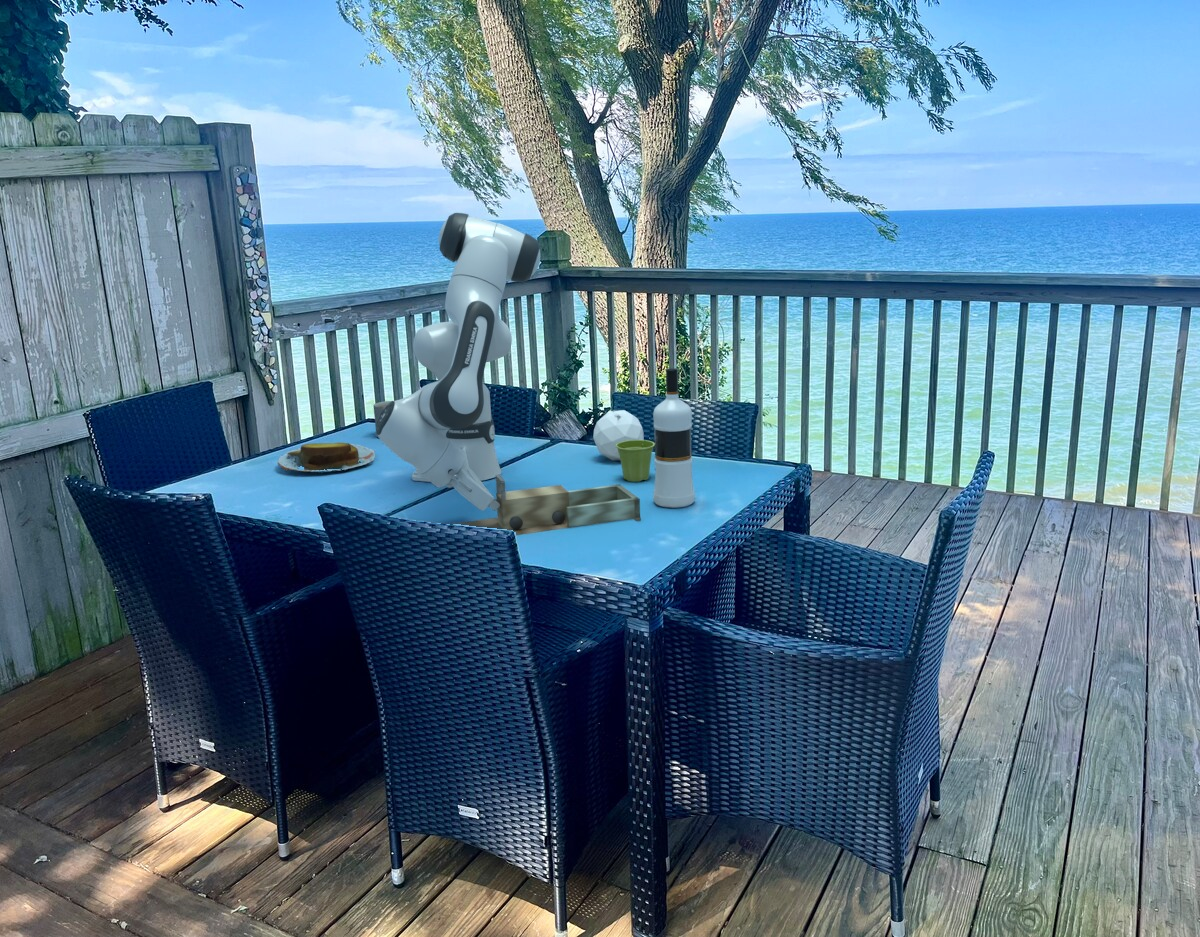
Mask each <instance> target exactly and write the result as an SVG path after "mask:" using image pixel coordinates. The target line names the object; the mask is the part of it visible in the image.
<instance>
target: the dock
mask: <svg viewBox="0 0 1200 937" xmlns="http://www.w3.org/2000/svg"><path fill="white" fill-rule="evenodd" d="M567 491H568V492H569V507H567V523H561V524H552V525H545V526H537V527H530V528H523V529H518V530H513V531H514V532H516V535H515V536H521V535H528V534H534V533H535V534H536V533H541V532H549V531H557V530H564V529H571V528H578V527H583V526H584V527H585V526H590V525H591V526H593V525H599V524H600V525H601V524H605V523H606V524H607V523H613V522H619V521H620V522H621V521H627V520H634V521H635V522H639V521H641V520H642V517H641V502H640V498H639V497H638V496H637V495H635V494H634V493H633V492H631V491H629V490H628V489H627V488H625V487H624V486H623V485H621V484H620V483H619V484H612V485H611V484H610V485H605V486H596V487H587V488H580V489H579V488H578V489H572V490H567ZM453 524H461V525H469V526H476V527H487V528H497V529H502V527H501V526H500V525H499V523H498V517H492V518H484V519H475V520H468V521H462V522H455V523H453Z"/></svg>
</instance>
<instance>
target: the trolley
mask: <svg viewBox="0 0 1200 937" xmlns="http://www.w3.org/2000/svg"><path fill="white" fill-rule="evenodd" d="M495 485H496V486H495V487H496V492H495V497H496V498H495V499H496V500H497V501H498V503H499V504H500V507H499V508H498V509H497V510H496V512H497V516H496V517H497V518H498V523H499V525H500V526H501V527H502V529H507V530H518V529H523V528H530V527H537V526H545V525H552V524H561V523H567V507H569V492H568V491H569V490H567V489H566V488H565V487H564V486H563V485H562V484H556V485H549V486H543V487H542V486H541V487H535V488H534V487H533V488H524V489H518V490H508V491H507V490H506V480H505V479H504V478H503V476H501V474H500V475H499V474H498V475H496V477H495Z"/></svg>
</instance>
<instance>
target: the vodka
mask: <svg viewBox="0 0 1200 937" xmlns="http://www.w3.org/2000/svg"><path fill="white" fill-rule="evenodd" d="M665 379H666V380H665V384H666V385H665V387H666V389H665V390H666V391H665V393H666V396H665V397H666V398H665V399H664V400H662V401H661V402H660V403H659V404H658V405H656V406H655V407H654V410H653V412H652V416H653V428H654V443H655V446H654V459H653V461H654V467H655V477H654V490H653V492H652V493H653V494H652V495H653V496H652V499H653V502H654V504H656V505H657V506H660V507H661V508H668V509H677V508H678V509H679V508H685V507H688V506H690V505H691V504H693V503H694V502H695V500H696V492H695V489H694V481H693V461H694V459H693V457H692V426H693V423H692V419H693V412H692V409H691V407H690V405H689V404H687V403H686V402H685V401H682V400H681V399H680V398H679V370H678V368H675V367H670V368H667V369H665Z"/></svg>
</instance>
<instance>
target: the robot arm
mask: <svg viewBox="0 0 1200 937" xmlns="http://www.w3.org/2000/svg"><path fill="white" fill-rule="evenodd" d="M438 244H439V248H438V249H439V251H440V253H441V255H442V256H443V257H444V258H446V259H447V260H449V261H450V262H452V263H455V262H456V263H455V266H454V268H453V271H452V274H451V277H450V280H449V283H448V287H447V290H446V295H445V299H444V300H445V302H444V303H445V304H444V309H445V312H446V314H447V316H448V318H449V319H450V320H449V321H443V322H435V323H433V324H428V325H426V326H424V327H421V328H419V329H417V331H416V332H415V335H414V337H413V343H412V345H413V346H412V348H413V353H414V356H415V358H416V359H417V361H418V362H419V364H420V365H422V366H423V367H424V368H425V369H428V370H429V371H430V372H431V373H432V374H433V375H434V376H435V377H436V380H437V381H433V382H430V383H427V384H426V385H423V386H422V387H421V388H419V389H418V390H417V391H415V392H413V393H412V394H410V395H408V396H405V397H403V398H399V399H397V400H391V401H392V402H390V403H389V404H388V405H387V406H386V407H385V409H384V410H383V411H382V413H381V414H380V416H379V418H378V421H377V425H376V426H375V434H376V433H377V435H378V437H379V438H380V439H379V438H378V439H379V440H380V441H381V442H382V444H384V445H385V446H386V447H387V448H388V449H389V450H390V451H391V452H393V453H394V454H395V455H396V456H397V457H399V458H400V459H401V460H402V461H403V462H406V463H408V464H411V466H413V467H414V468H415V469H416V470H415V471H413V472H412V474H411V480H412V481H417V482H427V483H431V484H433V485H434V486H435V487H436V488H443V487H444V486H445V487H446V488H448V489H449V488H454V489H455V490H456V492H458V493H459V494H460V496H462V497H463V498H464V499H466V500H467V501H468V502H469V503H471V504H472V505H473V506H474V507H476V509H478V510H480V511H486V509H488V507H489V508H490V509H491V510H492V511H497V509H498V508H499V507H500V504H499V503H498V501H497V500H496V498H495V497H494V496H493V495H492V494H491V492H490V491H489V489H488V488H487V487H486V486H485V485H484V483H483V482H482V481H486V480H489V479H493V478H496V475H498V474H499V475H500V476H501V474H502V470H501V467H500V465H499V460H498V458H497V453H496V452H497V451H496V447H495V436H496V434H495V431H496V430H495V424H494V419H493V418H492V409H491V397H490V396H491V395H490V394H491V393H490V390H489V388H488V387H487V386H486V384H485V383H483V382H484V373H485V368H486V363H490V362H493V361H496V360H499V359H502V358H503V357H506V356H508V354H509V352H510V350H511V349H512V348H511V347H512V342H513V340H512V339H513V337H512V333H511V330H510V328H509V326H508V325H507V323H506V322H504V321H503V320H502V318H500V305H501V302H502V298H503V295H504V293H505V292H504V291H505V288H506V283H507V281H508V279H509V280H511V282H518V283H524V282H527V281H529V280H530V279H531V277H533V276H534V274H535V273H536V271H537V270H538V268H539V266H540V262H541V249H540V248H541V245H540V243H539V241H538V239H537V238H535V237H534V236H532V235H530V234H528V233H522V232H521V231H518V230H517V229H515V228H512V227H510V226H508V225H505V224H502V223H500V222H494V221H491V220H488V219H484V218H480V217H477V216H471V215H469V214H468V213H463V212H454V213H452V214H450V215H449V216H448V217H447V219H445V221H444V222H443V224H442V225H441V228H440V230H439V234H438Z"/></svg>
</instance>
